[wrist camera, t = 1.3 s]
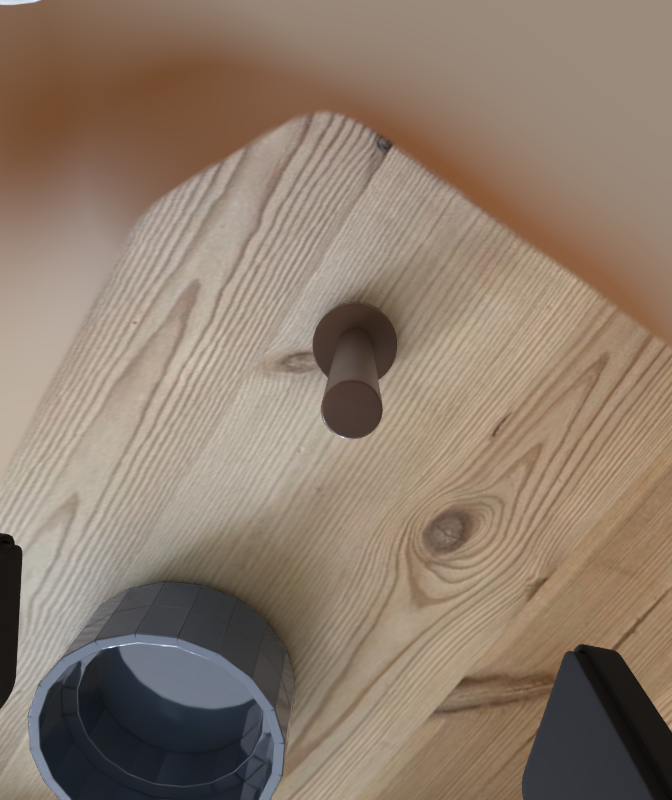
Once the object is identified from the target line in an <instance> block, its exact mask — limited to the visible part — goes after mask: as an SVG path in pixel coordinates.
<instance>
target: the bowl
mask: <svg viewBox="0 0 672 800" xmlns="http://www.w3.org/2000/svg"><path fill="white" fill-rule="evenodd" d="M294 687H295V677H294V674H293V670H292V667H291V663H290V660H289V657H288V653H287V650H286V648H285V646H284V645H283V644H282V642H281V641H280V639H279V638H278V636H277V635H276V634H275V632H274V631H273V629H272V628H271V627H270V625H269V624H268V622H267V621H266V620H265V619H264V618H262V617H261V616H260V615H259V614H257V613H256V612H255V611H253V610H252V609H251V608H249V607H248V606H247V605H245V604H244V603H243V602H242V601H240V600H239V599H237V598H234V597H232V596H229V595H227V594H224V593H222V592H219V591H217V590H214V589H212V588H209V587H206V586H203V585H196V584H186V583H176V582H161V583H156V584H150V585H145V586H140V587H135V588H130V589H128V590H126V591H125V592H123V593H121V594H119V595H117V596H115V597H114V598H112V599H110V600H108V601H106V602H105V603H103V604H102V605H100V606H99V608H98V609H97V610H96V611H95V612H94V613H93V615H92V616H91V617H90V618H89V619H88V620H87V621H86V623H85V624H84V625H83V626H82V627H81V628H80V630H79V631H78V632H77V634H76V635H75V636H74V638H73V639H72V640H71V642H70V643H69V644H68V646H67V647H66V648H65V650H64V651H63V652H62V654H61V655H60V656H59V657H58V659H57V660H56V661H55V663H54V664H53V665H52V667H51V668H50V669H49V671H48V672H47V673H46V675H45V676H44V677H43V679H42V680H41V681H40V683H39V684H38V687H37V690H36V693H35V696H34V699H33V702H32V705H31V708H30V710H29V713H28V727H29V743H30V751H31V753H32V756H33V758H34V760H35V763H36V765H37V767H38V769H39V772H40V774H41V776H42V779H43V781H44V782H45V783H46V784H47V785H48V786H49V788H50V789H51V790H52V791H53V792H54V793H55V794H56V796H57V797H58V798H59V799H60V800H271V798H272V796H273V794H274V792H275V790H276V788H277V786H278V784H279V782H280V780H281V778H282V776H283V771H284V764H285V758H286V751H287V744H288V737H289V731H290V724H291V717H292V710H293V700H294Z"/></svg>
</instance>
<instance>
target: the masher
mask: <svg viewBox="0 0 672 800" xmlns="http://www.w3.org/2000/svg"><path fill="white" fill-rule="evenodd" d="M396 351H397V339H396V334H395V331H394V328H393V326H392V324H391V322H390V321H389V319H388V318H387V317H386V316H385V314H384V313H382V312H381V311H380V310H379V309H377V308H376V307H374V306H372V305H369V304H366V303H362V302H348V303H344V304H341V305H338V306H336V307H334V308H333V309H331V310H330V311H329V312H328V313H327V314H325V316H324V317H323V318H322V319H321V321H320V323H319V324H318V326H317V328H316V330H315V333H314V338H313V353H314V357H315V360H316V363H317V364H318V366H319V368H320V369H321V371H322V372H323V373H324V374H325V375H326V376H327V377H328V381H327V385H326V389H325V392H324V396H323V400H322V405H321V414H322V418H323V421H324V423H325V425H326V426H327V428H328V429H329V430H330V431H331V432H333V433H334V434H335V435H337V436H339V437H342V438H346V439H358V438H362V437H365V436H367V435H368V434H370V433H371V432H372V431H374V430H375V428H376V427H377V426H378V424H379V422H380V420H381V417H382V411H383V408H382V400H381V394H380V388H379V382H378V380H379V379H380V378H381V377H383V376H384V375H385V374H386V373H387V372H388V370H389V369H390V367H391V366H392V364H393V362H394V359H395V356H396Z"/></svg>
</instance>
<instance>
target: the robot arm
mask: <svg viewBox="0 0 672 800" xmlns="http://www.w3.org/2000/svg"><path fill="white" fill-rule="evenodd" d="M21 572H22V549H21V547H20V546H17V545H15V542H14V539H13V537H12V536H10V535H8V534H3V533H0V709H1V708H2V706H3V705H4V704H5V702H6V701H7V700H8V698H9V696H10V694H11V692H12V690H13V687H14V684H15V680H16V667H17V648H18V629H19V610H20V591H21ZM522 793H523V799H524V800H672V732H671V730H670V729H669V727H668V726H667V724H666V723H665V721H664V720H663V718H662V717H661V715H660V714H659V712H658V711H657V709H656V708H655V706H654V705H653V703H652V702H651V700H650V699H649V697H648V696H647V694H646V693H645V691H644V690H643V688H642V687H641V685H640V684H639V682H638V681H637V679H636V678H635V676H634V675H633V673H632V672H631V670H630V669H629V667H628V666H627V664H626V663H625V661H624V660H623V658H622V657H621V655H620V654H619V653H618V652H616V651H614V650H610V649H605V648H599V647H594V646H589V645H584V644H581V645H578V646H577V647H576V648H575V650H574V652H573V651H568V652H567V653H566V654H565V655H564V657H563V660H562V663H561V666H560V669H559V671H558V674H557V677H556V680H555V683H554V686H553V689H552V692H551V695H550V698H549V700H548V703H547V706H546V709H545V712H544V715H543V718H542V721H541V724H540V727H539V729H538V732H537V735H536V738H535V741H534V744H533V747H532V750H531V753H530V756H529V758H528V761H527V764H526V767H525V770H524V773H523V778H522Z"/></svg>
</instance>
